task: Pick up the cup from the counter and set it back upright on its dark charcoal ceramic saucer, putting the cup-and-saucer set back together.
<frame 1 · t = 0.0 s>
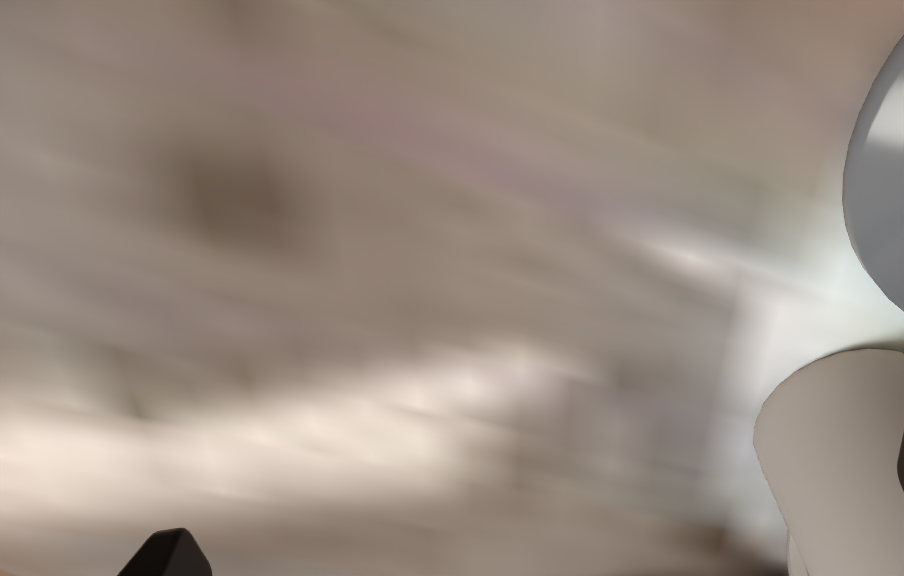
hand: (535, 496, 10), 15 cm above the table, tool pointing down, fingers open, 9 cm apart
cup: (823, 435, 31), on the table
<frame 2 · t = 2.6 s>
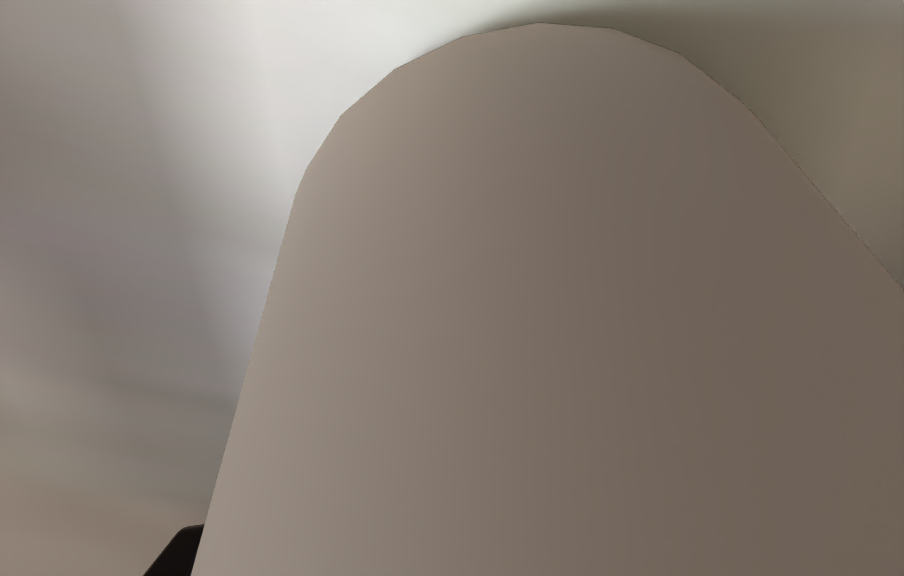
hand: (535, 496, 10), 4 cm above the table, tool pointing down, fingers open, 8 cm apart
cup: (506, 314, 13), on the table, touching gripper
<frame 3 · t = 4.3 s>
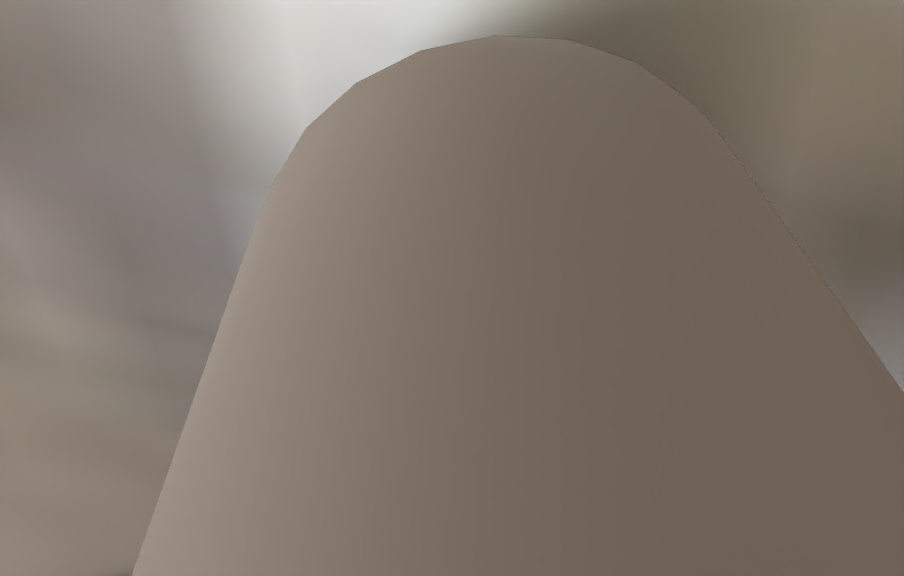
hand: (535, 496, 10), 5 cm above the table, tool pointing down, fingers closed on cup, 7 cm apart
cup: (480, 320, 13), point 1 cm above the table, touching gripper
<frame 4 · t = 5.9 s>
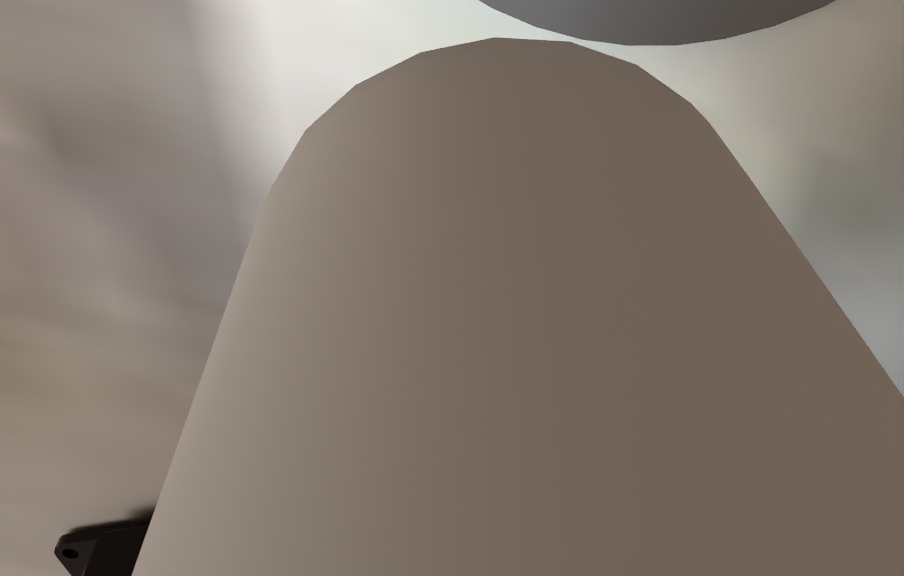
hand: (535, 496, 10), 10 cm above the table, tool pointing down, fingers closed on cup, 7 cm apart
cup: (480, 322, 13), point 6 cm above the table, touching gripper
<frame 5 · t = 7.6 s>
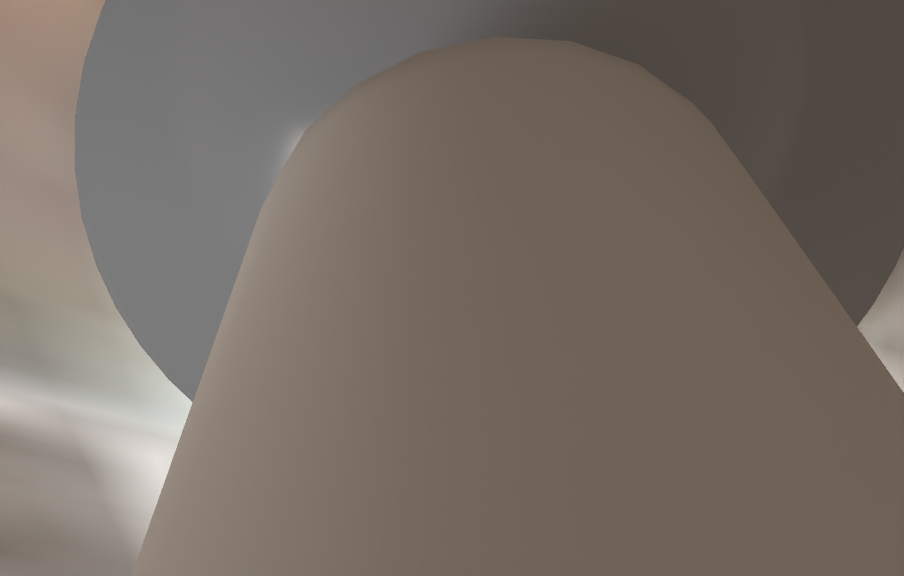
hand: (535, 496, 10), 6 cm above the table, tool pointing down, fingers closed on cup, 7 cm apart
cup: (481, 322, 13), point 3 cm above the table, touching gripper
saucer: (498, 209, 15), on the table
when the fingers open (6 cm above the table, at t = 9.0 s): cup drops 2 cm, resting on saucer.
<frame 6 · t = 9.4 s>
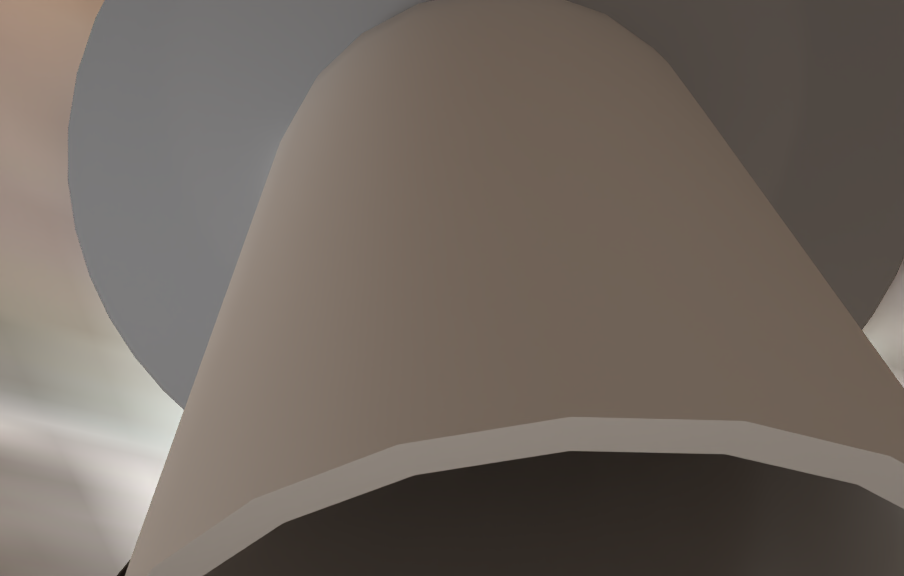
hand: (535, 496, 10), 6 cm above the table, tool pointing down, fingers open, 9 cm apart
cup: (473, 256, 14), resting on saucer
saucer: (496, 219, 15), on the table, touching cup
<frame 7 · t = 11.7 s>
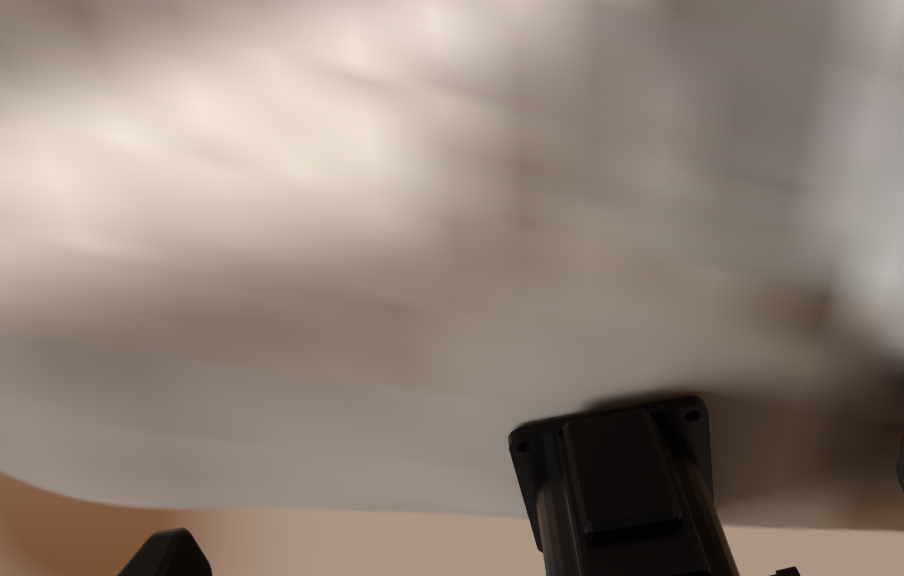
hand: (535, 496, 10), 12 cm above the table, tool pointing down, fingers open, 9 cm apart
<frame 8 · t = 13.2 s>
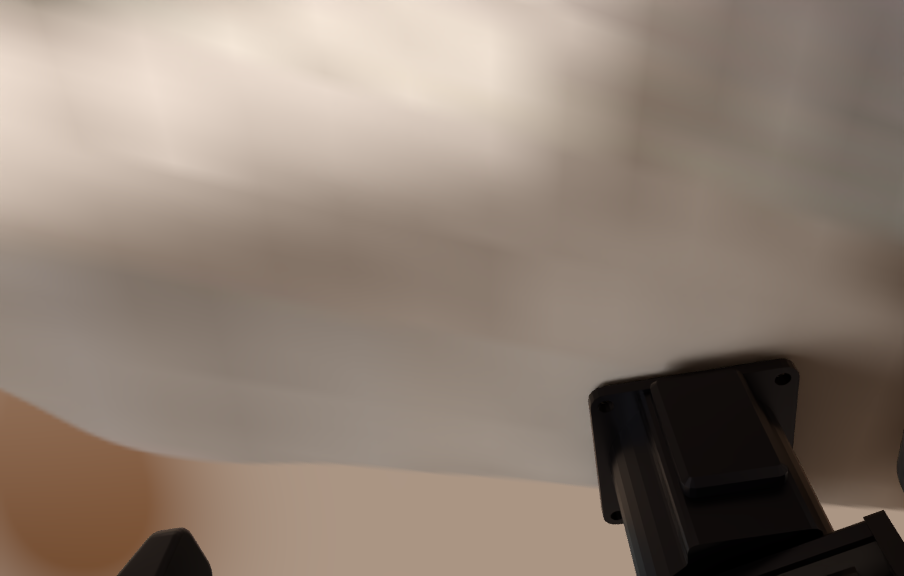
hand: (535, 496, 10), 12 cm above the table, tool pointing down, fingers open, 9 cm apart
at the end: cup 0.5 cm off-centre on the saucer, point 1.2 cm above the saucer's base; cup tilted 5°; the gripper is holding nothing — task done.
